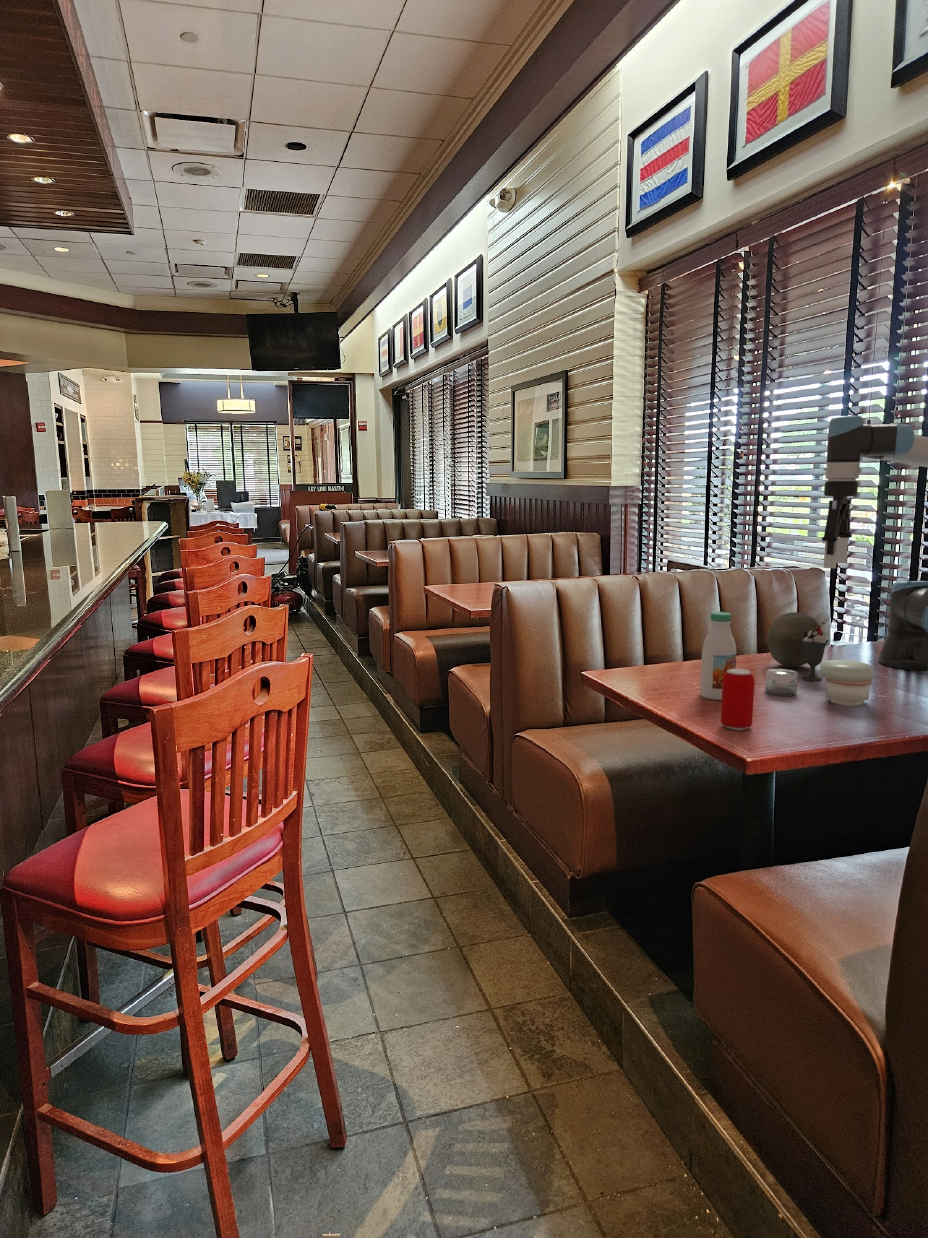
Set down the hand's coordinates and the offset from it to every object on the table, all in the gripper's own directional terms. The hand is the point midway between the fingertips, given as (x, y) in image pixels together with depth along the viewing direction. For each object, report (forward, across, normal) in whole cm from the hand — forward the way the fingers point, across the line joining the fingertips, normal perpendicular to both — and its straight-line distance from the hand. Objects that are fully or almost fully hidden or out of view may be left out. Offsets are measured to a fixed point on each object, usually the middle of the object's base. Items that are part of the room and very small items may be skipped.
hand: (835, 565), depth 203 cm
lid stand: (+29, +23, -6) cm, 37 cm away
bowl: (+29, +24, +9) cm, 38 cm away
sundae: (+29, +6, -2) cm, 30 cm away
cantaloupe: (+29, -4, -10) cm, 31 cm away
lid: (+23, +23, +8) cm, 33 cm away
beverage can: (+29, +56, -7) cm, 64 cm away
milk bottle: (+29, +35, -17) cm, 49 cm away
